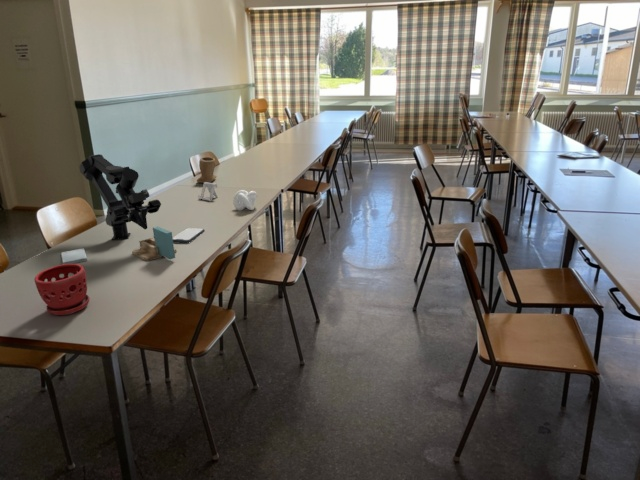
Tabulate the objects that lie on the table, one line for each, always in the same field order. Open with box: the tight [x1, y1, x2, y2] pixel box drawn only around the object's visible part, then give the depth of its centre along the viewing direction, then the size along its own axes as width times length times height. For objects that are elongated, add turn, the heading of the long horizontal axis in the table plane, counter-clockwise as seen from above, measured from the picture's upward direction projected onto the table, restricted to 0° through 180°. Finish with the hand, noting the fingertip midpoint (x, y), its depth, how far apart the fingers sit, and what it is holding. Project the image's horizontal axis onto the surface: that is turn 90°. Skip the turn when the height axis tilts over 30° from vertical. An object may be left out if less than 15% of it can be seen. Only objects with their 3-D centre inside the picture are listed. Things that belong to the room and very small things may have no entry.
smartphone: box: [172, 227, 205, 244], centre depth 203 cm, size 9×2×16 cm
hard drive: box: [60, 247, 88, 265], centre depth 183 cm, size 2×8×12 cm
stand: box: [131, 237, 178, 262], centre depth 185 cm, size 12×12×4 cm
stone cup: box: [196, 156, 217, 184], centre depth 296 cm, size 15×12×15 cm
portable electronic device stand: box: [197, 182, 219, 202], centre depth 258 cm, size 9×8×8 cm
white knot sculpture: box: [232, 189, 258, 211], centre depth 237 cm, size 11×12×9 cm
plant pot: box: [33, 263, 91, 316], centre depth 142 cm, size 13×13×12 cm
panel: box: [152, 226, 176, 260], centre depth 178 cm, size 10×2×10 cm, turn 46°
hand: (146, 228), depth 185 cm, fingers closed
